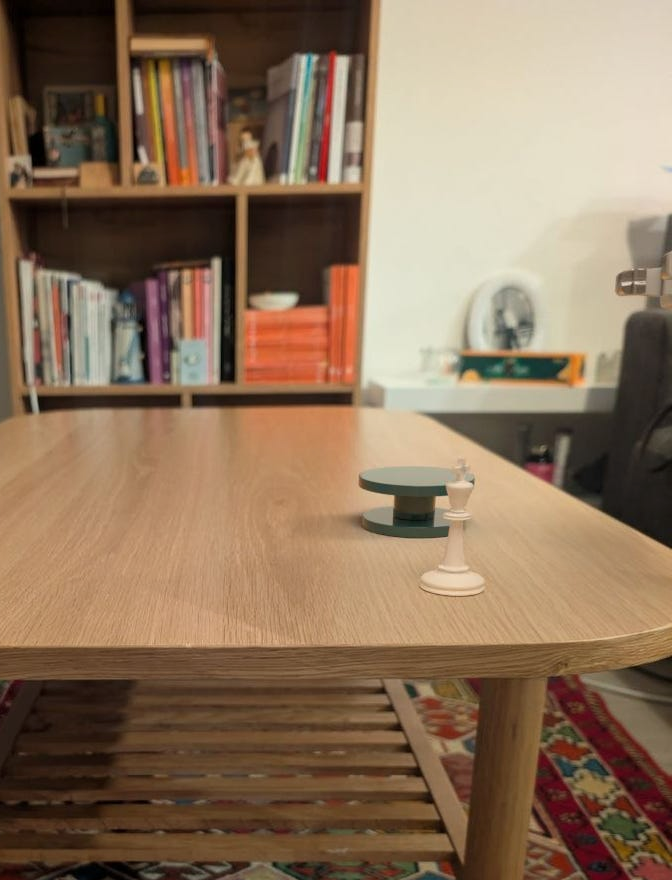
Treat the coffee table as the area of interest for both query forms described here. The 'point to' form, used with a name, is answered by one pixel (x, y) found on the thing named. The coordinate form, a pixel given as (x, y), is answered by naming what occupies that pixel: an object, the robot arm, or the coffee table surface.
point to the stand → (409, 500)
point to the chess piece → (455, 544)
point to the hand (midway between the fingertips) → (639, 275)
